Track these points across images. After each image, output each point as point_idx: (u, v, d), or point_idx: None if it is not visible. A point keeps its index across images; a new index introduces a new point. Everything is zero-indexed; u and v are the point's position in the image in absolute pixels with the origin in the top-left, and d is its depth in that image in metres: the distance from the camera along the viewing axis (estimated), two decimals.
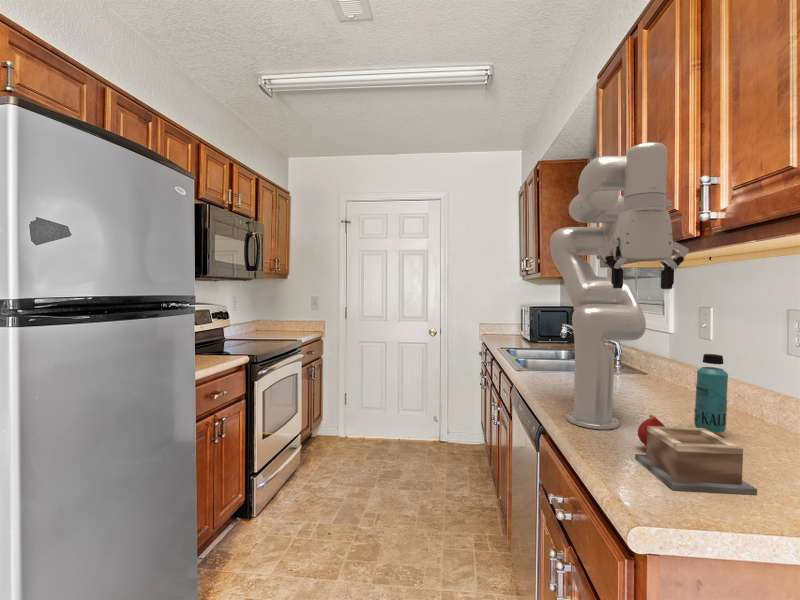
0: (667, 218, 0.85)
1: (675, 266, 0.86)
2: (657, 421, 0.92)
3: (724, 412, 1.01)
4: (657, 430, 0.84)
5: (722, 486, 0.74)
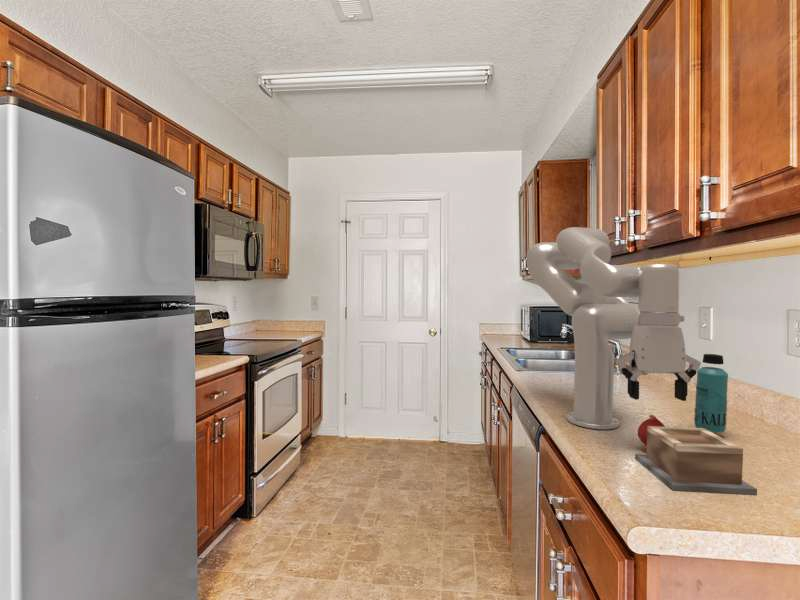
0: (680, 335, 0.89)
1: (688, 379, 0.90)
2: (657, 421, 0.92)
3: (724, 412, 1.01)
4: (657, 430, 0.84)
5: (722, 486, 0.74)
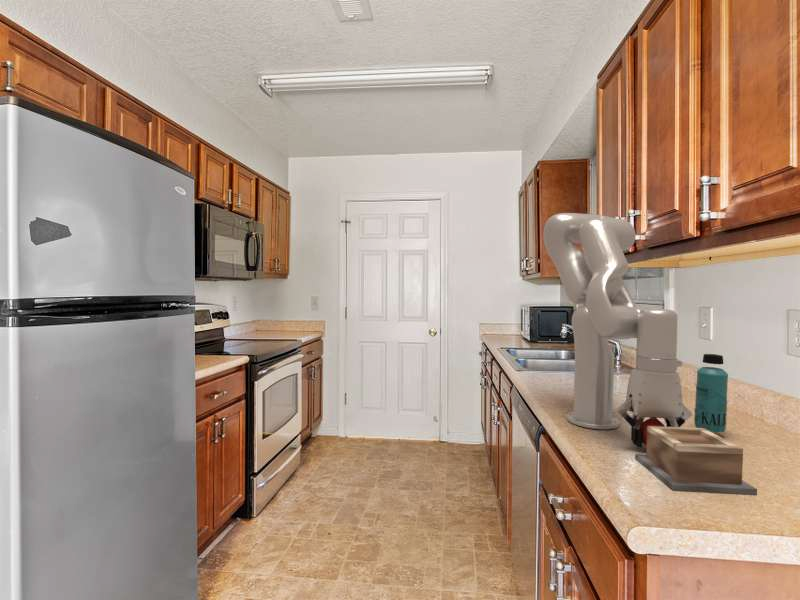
0: (677, 381, 0.90)
1: None
2: (657, 421, 0.92)
3: (724, 412, 1.01)
4: (657, 430, 0.84)
5: (722, 486, 0.74)
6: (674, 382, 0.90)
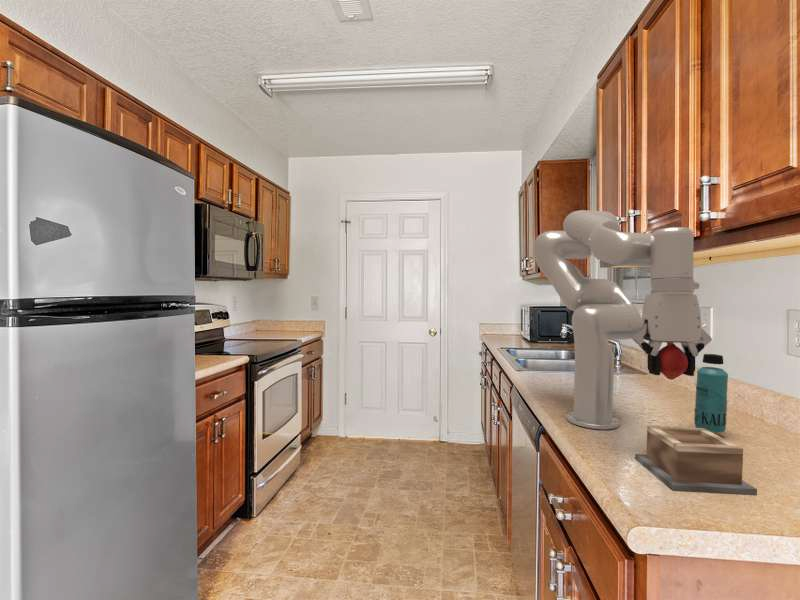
0: (695, 302, 0.85)
1: (696, 353, 0.86)
2: (675, 347, 0.86)
3: (724, 412, 1.01)
4: (657, 430, 0.84)
5: (722, 486, 0.74)
6: (692, 303, 0.85)
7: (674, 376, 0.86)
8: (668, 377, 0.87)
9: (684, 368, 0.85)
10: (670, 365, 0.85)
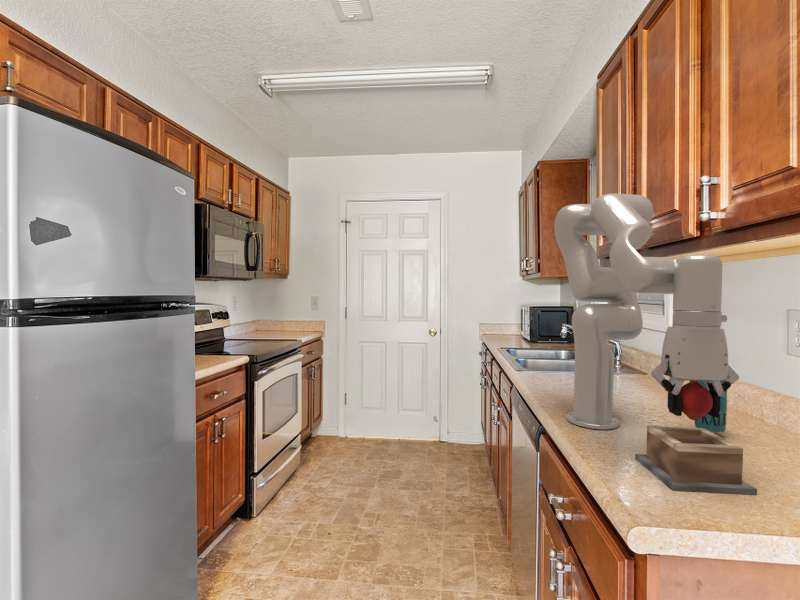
0: (722, 337, 0.78)
1: (722, 393, 0.79)
2: (699, 385, 0.79)
3: (724, 412, 1.01)
4: (657, 430, 0.84)
5: (722, 486, 0.74)
6: (719, 339, 0.78)
7: (697, 417, 0.79)
8: (691, 418, 0.80)
9: (708, 409, 0.78)
10: (693, 405, 0.78)
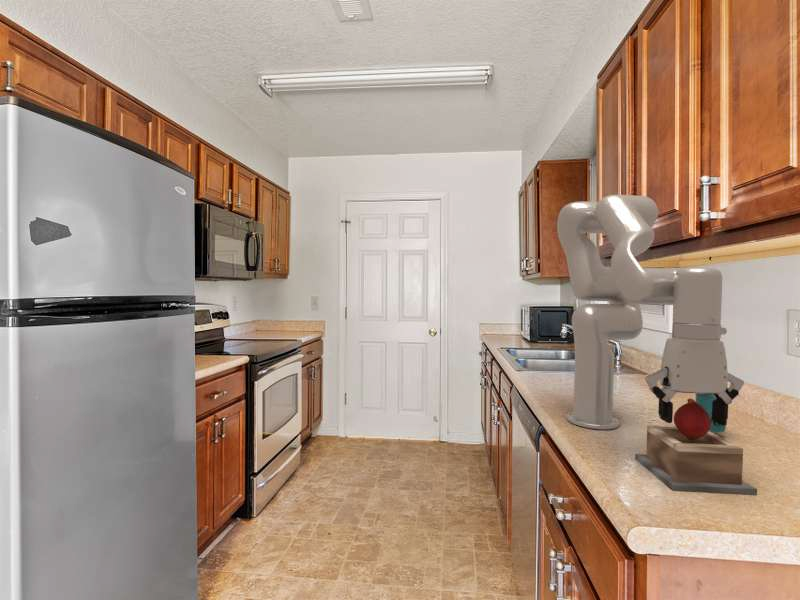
0: (722, 350, 0.78)
1: (730, 401, 0.79)
2: (697, 405, 0.80)
3: None
4: (657, 430, 0.84)
5: (722, 486, 0.74)
6: (718, 352, 0.78)
7: (695, 437, 0.79)
8: (689, 438, 0.80)
9: (706, 429, 0.78)
10: (691, 425, 0.79)
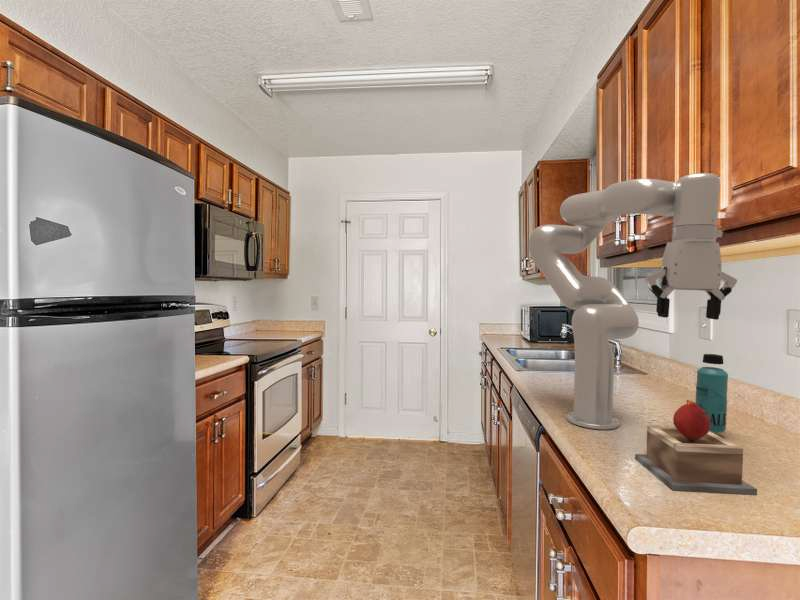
0: (717, 249, 0.85)
1: (722, 297, 0.86)
2: (696, 406, 0.80)
3: (724, 412, 1.01)
4: (657, 430, 0.84)
5: (722, 486, 0.74)
6: (713, 251, 0.85)
7: (695, 438, 0.79)
8: (689, 439, 0.80)
9: (706, 431, 0.78)
10: (690, 427, 0.79)
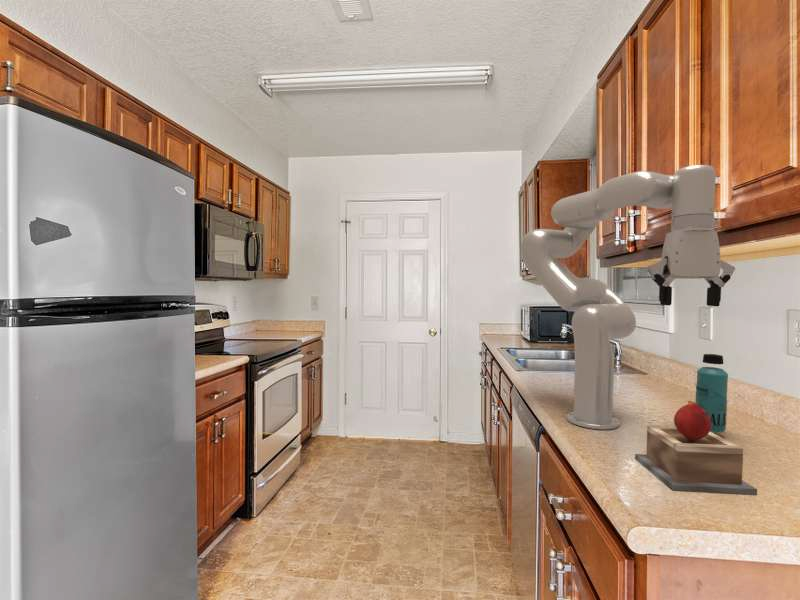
0: (715, 238, 0.88)
1: (722, 284, 0.89)
2: (697, 407, 0.80)
3: (724, 412, 1.01)
4: (657, 430, 0.84)
5: (722, 486, 0.74)
6: (712, 239, 0.88)
7: (695, 439, 0.79)
8: (689, 439, 0.80)
9: (706, 431, 0.78)
10: (690, 427, 0.78)
